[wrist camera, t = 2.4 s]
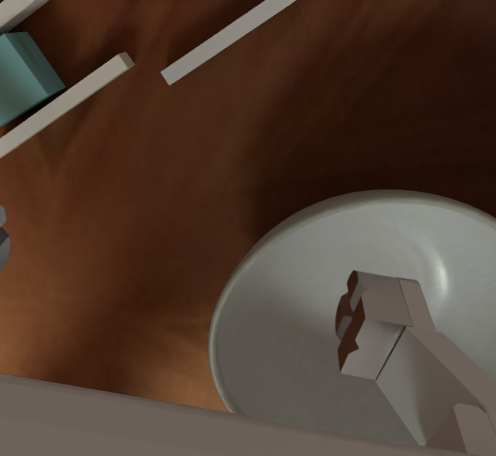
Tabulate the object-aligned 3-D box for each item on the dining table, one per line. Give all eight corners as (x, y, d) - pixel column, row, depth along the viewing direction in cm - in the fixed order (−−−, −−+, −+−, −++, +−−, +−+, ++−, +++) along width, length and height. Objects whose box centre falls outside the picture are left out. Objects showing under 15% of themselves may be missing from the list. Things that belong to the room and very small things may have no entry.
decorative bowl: (540, 245, 45) (633, 319, 34) (363, 409, 55) (392, 509, 44) (327, 86, 39) (357, 115, 28) (169, 303, 49) (145, 388, 38)
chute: (11, 151, 42) (-2, 159, 39) (-62, 65, 38) (-81, 69, 36) (134, 64, 38) (127, 68, 36) (65, -37, 35) (53, -40, 33)
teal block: (12, 121, 41) (-11, 131, 37) (-28, 68, 39) (-56, 74, 35) (66, 86, 39) (47, 94, 36) (28, 31, 37) (3, 33, 34)
